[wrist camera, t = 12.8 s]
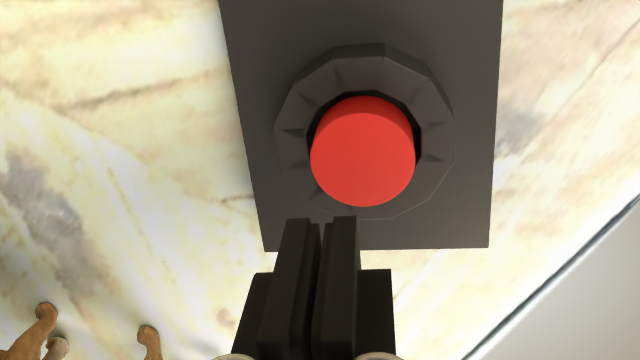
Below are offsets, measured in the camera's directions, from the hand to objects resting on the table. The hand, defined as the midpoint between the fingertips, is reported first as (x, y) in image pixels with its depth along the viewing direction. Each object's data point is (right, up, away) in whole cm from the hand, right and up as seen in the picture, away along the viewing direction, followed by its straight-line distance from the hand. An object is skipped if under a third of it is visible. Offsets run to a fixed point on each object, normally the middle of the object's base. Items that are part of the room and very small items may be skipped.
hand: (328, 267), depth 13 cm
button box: (+2, +5, +10) cm, 11 cm away
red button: (+1, +4, +7) cm, 8 cm away
